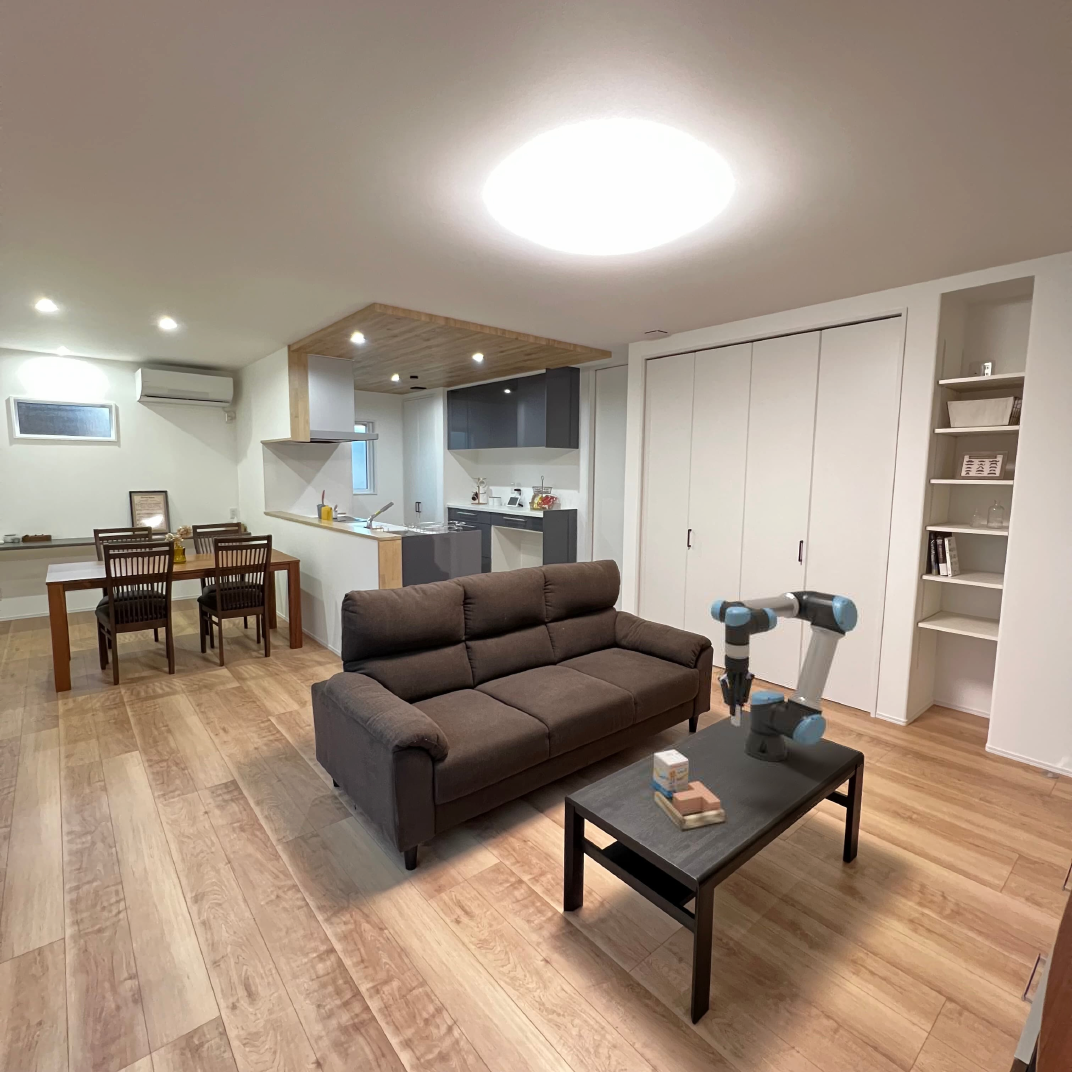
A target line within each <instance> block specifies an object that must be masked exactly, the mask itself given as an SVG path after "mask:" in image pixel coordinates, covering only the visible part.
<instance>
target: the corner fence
mask: <svg viewBox="0 0 1072 1072" xmlns="http://www.w3.org/2000/svg"><path fill="white" fill-rule="evenodd" d="M654 802H655V803H656V805H658V806H659V807H660V808H661V810H662V811H663V812H664V813H665V814H666V815H667V816H668V817H669V819H670V820H671V821H672V822H673V823H674V824H675V825H676V826H677V827H678V828H679V830H681V831H683V830H688V829H692V828H698V827H701V826H706V825H707V826H708V825H711V824H716V823H720V822H725V814H726V813H725V811H724V810H723V808H720V809H719V810H714V811H709V812H704V813H703V812H698V813H696V814H695V813H694V814H690V815H681V814H680V813H679V812H678V811H677V810H676V809H675V808H674V807H673V804H672V803H671V802H670V801H669V800H668V798H667V797H666V796H665V795H663V794H662V793H661V792H660V791H659V790H657V791H654Z"/></svg>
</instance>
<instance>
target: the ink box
mask: <svg viewBox="0 0 1072 1072" xmlns="http://www.w3.org/2000/svg"><path fill="white" fill-rule="evenodd" d="M689 763H690V761H689V758H687V757H686V756H684V755H683V754H681V753H680V752H679V751H677V750H676V749H669V750H664V751H659V752H654V753H653V776H652V778H653V779H652V787H654V789H657V791H659V792H660V793H661V794H662V795H663V796H664V797H665V798H666V799H669V798H673V794H674V793H679V792H685V791H688V783H689V765H690V764H689Z"/></svg>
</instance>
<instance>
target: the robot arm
mask: <svg viewBox="0 0 1072 1072" xmlns="http://www.w3.org/2000/svg"><path fill="white" fill-rule="evenodd" d="M857 609H858V608H857V606H856V604H855V602H854V601H853V600H851V599H850V598H848V597H845V596H841V595H835V594H830V593H826V592H819V591H814V590H800V591H799V590H798V591H790V592H789V591H788V592H783V593H781V594H780V595H779V596H771V597H770V596H769V597H761V598H754V599H747V600H746V599H745V600H739V601H738V600H737V601H727V600H723V599H722V600H721V599H717V600H715V601H714V602H713V604H712V605H711V608H710V615H711V617H712V619H713V620H715V621H718V622H720V623H723V624H724V637H725V638H724V654H725V655H724V666H725V670H724V674H723V675H721V676H718V677H717V680H718V683H720V689H721V692H722V698H723V703H724V704H725V705H727V706H729V715H730V723H731V724H732V725H733V726H735V727H740V726H741V715H742V713H743V708H744V707H745V704H747V703H748V701H749V697H750V693H751V688H752V684H753V681H754V679H755V676H756V675H755V674H754V673H752V672H750V671H749V667H750V641H751V638H750V636H753V635H757V634H762V633H766V632H768V631H772V630H774V629H775V628H776V627H777V624H778V618H782V617H783V618H785V619H797V620H802V621H806V622H810V625H809V628H810V629H811V630H812V635H811V637H810V641H809V644H808V648H807V651H806V654H805V658H804V661H803V664H802V667H801V670H800V674H799V678H798V681H797V684H796V687H795V692H794V694H793V695H791V696H789V697H788V698H787V701H786V700H785V699H786V698H785V695H784V693H782V692H779V691H775V690H759V691H756V692H753V694H751V698H750V703H749V704H750V706H749V708H750V709H749V710H750V711H749V730H748V733H747V735H746V739H744V743H743V750H744V751H745V753H746V754H748V755H749V756H751V757H753V758H755V759H757V760H762V761H767V762H779V761H782V760H785V759H786V758H787V755H788V754H787V753H788V751H787V750H788V749H787V747H786V742H785V739H784V737H787V738H789V739H791V740H793V741H794V742H796V743H799V744H802V745H805V746H812V745H814V744H816V743H817V742H819V741H820V740H821V739H822V737H823V735H824V733H825V731H826V729H827V724H826V721H827V720H826V718H825V717H824V716H823V710H824V709H823V708H822V707H821V699H822V698H823V694H824V689H825V688H826V684H827V680H828V677H829V674H830V670H831V667H832V663H833V660H834V657H835V653H836V651H837V646H838V643H839V640H841V639H843V638H845V636H846V634H847V633H846V632H852V631H853V630H854V629H855V628H856V626H857V622H858V616H859V614H858V610H857Z"/></svg>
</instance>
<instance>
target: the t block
mask: <svg viewBox="0 0 1072 1072" xmlns="http://www.w3.org/2000/svg"><path fill="white" fill-rule="evenodd" d="M721 802H722V801H721V800H720V798H718V797H717V796H716V795H715V794H714V793H712V792H711V791H710V790H709V789H708V788H707V787H706V786H705V785H704V784H702V783H701V781H699V780H698V781H697V780H696V781H692V782H688V791H685V792H679V793H674V794H673V797H672V806H673V807H674V808H675V809H676V810H677V811H678V812H679V813H680V814H681V815H682V816H686V815H689V814H690V815H691V814H695V813H704V812H709V811H714V810H719V809H721V805H722V804H721Z"/></svg>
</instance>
